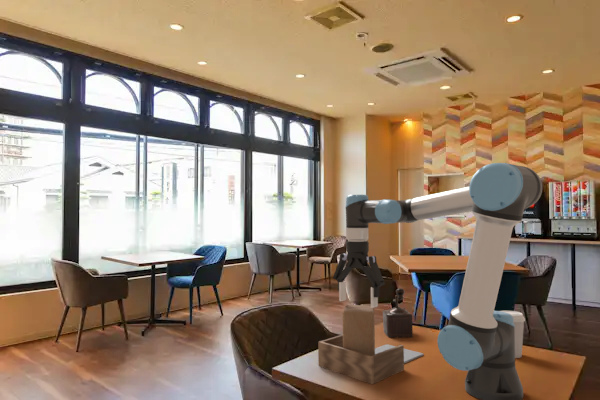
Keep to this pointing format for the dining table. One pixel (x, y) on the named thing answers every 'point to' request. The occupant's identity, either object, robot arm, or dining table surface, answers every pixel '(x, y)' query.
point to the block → (359, 329)
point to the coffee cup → (518, 331)
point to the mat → (408, 354)
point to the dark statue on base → (397, 319)
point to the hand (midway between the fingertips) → (357, 304)
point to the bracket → (360, 361)
